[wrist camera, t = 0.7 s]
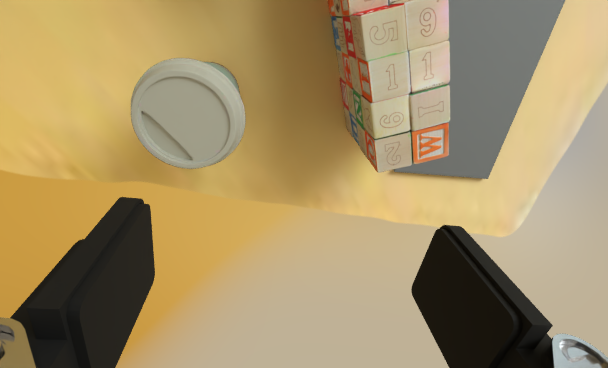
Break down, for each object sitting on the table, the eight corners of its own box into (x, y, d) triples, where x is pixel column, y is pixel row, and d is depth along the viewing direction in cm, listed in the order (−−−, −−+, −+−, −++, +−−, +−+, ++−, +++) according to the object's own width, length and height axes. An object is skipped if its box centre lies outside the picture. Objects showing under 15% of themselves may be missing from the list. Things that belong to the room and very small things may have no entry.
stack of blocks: (310, -101, 27) (336, -182, 16) (381, -118, 27) (455, -212, 16) (346, 130, 37) (377, 175, 26) (398, 118, 37) (450, 158, 26)
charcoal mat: (468, -104, 28) (472, -107, 27) (593, -78, 30) (599, -79, 29) (393, 169, 40) (394, 171, 40) (484, 176, 42) (487, 178, 41)
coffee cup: (159, 51, 31) (103, 67, 21) (245, 44, 32) (232, 55, 21) (182, 133, 35) (143, 181, 25) (257, 125, 36) (251, 169, 25)
